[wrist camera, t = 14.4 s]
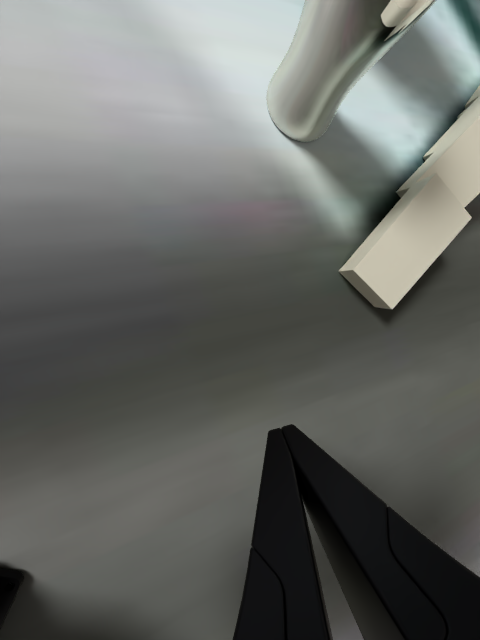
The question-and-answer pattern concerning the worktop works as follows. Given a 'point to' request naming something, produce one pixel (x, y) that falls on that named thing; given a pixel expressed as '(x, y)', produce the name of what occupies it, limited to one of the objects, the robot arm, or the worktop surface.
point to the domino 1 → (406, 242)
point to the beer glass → (333, 58)
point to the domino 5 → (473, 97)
